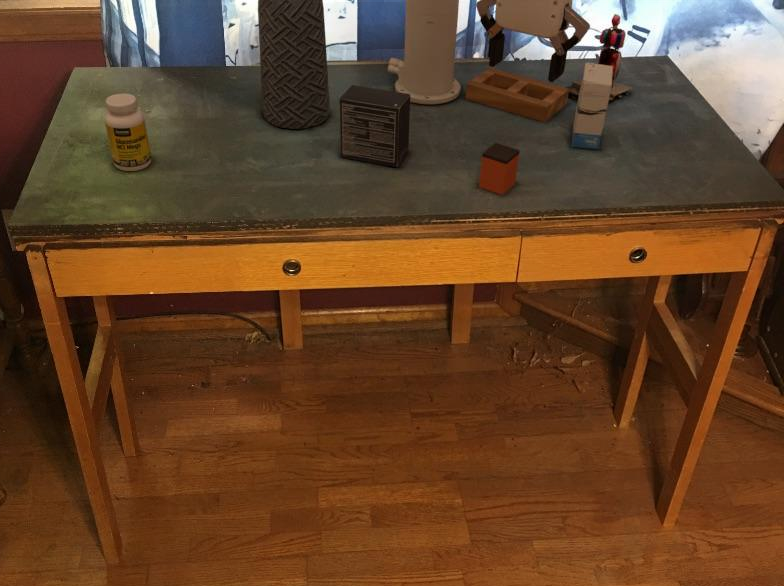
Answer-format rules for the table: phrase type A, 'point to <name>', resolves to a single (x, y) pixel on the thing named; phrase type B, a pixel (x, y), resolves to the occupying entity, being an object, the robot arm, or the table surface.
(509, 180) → the orange block
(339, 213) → the table surface
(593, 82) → the ink box
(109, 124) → the pill bottle
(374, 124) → the small box
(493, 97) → the wooden compartment tray
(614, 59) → the statue
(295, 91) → the vase
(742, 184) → the table surface
